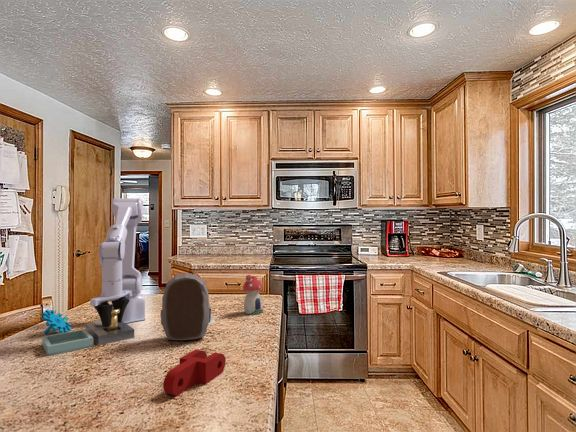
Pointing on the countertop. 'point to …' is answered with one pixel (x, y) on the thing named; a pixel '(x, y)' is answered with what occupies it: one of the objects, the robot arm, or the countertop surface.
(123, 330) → the grey flat block
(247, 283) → the decorative ornament
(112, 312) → the pin
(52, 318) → the gear
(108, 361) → the countertop surface
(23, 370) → the countertop surface
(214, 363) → the mechanical linkage
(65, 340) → the pin tray
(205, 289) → the small grey backpack
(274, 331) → the countertop surface
